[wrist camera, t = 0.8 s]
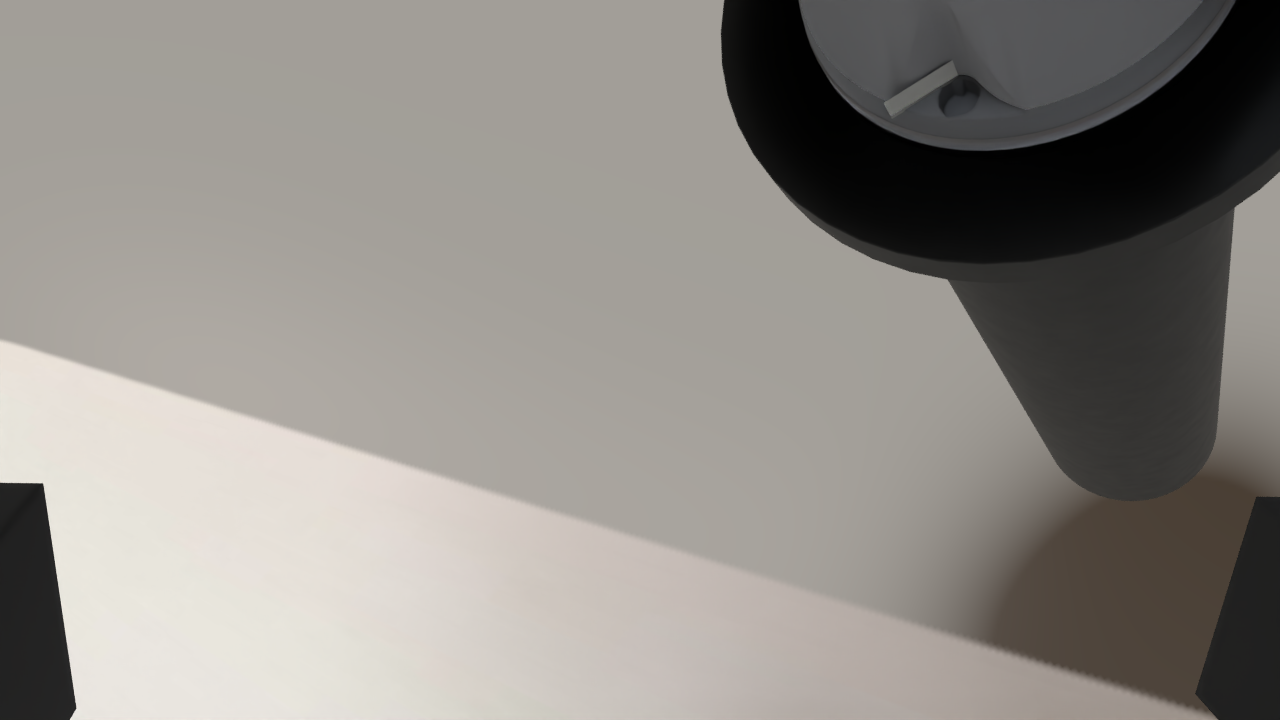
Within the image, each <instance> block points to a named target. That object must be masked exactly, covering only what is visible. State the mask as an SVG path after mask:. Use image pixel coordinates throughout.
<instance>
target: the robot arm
mask: <svg viewBox="0 0 1280 720" xmlns="http://www.w3.org/2000/svg"><path fill="white" fill-rule="evenodd" d="M1239 1H1240V0H799V5H800V10H801V15H802V19H803V22H804V26H805V30H806V34H807V37H808V40H809V43H810V46H811V48H812V50H813V52H814V54H815V56H816V59H817V61H818V62H819V64H820V66H821V67H822V69H823V71H824V72H825V74H826V76H827V78H828V79H829V81H830V82H831V84H832V86H833V87H834V89H835V90H836V92H837V93H838V94H839V96H840V97H841V98H842V99H843V100H844V102H845V103H846V104H847V105H848V106H849V107H850V108H851V109H852V110H853V111H854V112H855V113H856V114H857V115H858V116H859V117H860V118H862V119H863V120H864V121H866V122H867V123H868V124H870V125H871V126H872V127H874V128H875V129H877V130H879V131H880V132H882V133H884V134H886V135H887V136H889V137H891V138H893V139H896V140H898V141H900V142H902V143H904V144H907V145H910V146H913V147H916V148H919V149H922V150H925V151H929V152H934V153H938V154H943V155H950V156H957V157H966V158H1001V157H1013V156H1020V155H1028V154H1034V153H1038V152H1043V151H1047V150H1052V149H1056V148H1059V147H1062V146H1065V145H1069V144H1072V143H1075V142H1078V141H1081V140H1083V139H1086V138H1088V137H1091V136H1093V135H1096V134H1098V133H1101V132H1103V131H1105V130H1107V129H1109V128H1111V127H1113V126H1115V125H1117V124H1119V123H1121V122H1123V121H1124V120H1126V119H1128V118H1129V117H1131V116H1133V115H1134V114H1136V113H1138V112H1139V111H1141V110H1143V109H1144V108H1146V107H1147V106H1149V105H1150V104H1151V103H1153V102H1154V101H1156V100H1157V99H1158V98H1160V97H1161V96H1162V95H1164V94H1165V93H1166V92H1167V91H1169V90H1170V89H1171V88H1172V87H1173V86H1174V85H1176V84H1177V83H1178V82H1179V81H1180V80H1181V79H1183V78H1184V77H1185V76H1186V75H1187V74H1188V73H1189V72H1190V71H1191V70H1192V69H1193V67H1194V66H1195V65H1196V64H1197V63H1198V62H1199V61H1200V60H1201V59H1202V58H1203V57H1204V55H1205V54H1206V53H1207V52H1208V51H1209V49H1210V48H1211V47H1212V46H1213V44H1214V43H1215V42H1216V40H1217V39H1218V37H1219V36H1220V34H1221V33H1222V31H1223V30H1224V28H1225V27H1226V26H1227V24H1228V22H1229V21H1230V19H1231V17H1232V15H1233V13H1234V11H1235V9H1236V7H1237V6H1238V4H1239ZM1195 694H1196V695H1197V696H1198V697H1199V698H1200V700H1201V701H1202V702H1203V703H1204V704H1205V705H1206V706H1207V707H1208V709H1209V710H1210V711H1211V712H1212V713H1213V714H1214V715H1215V716H1216V718H1217V719H1218V720H1280V497H1256V500H1255V503H1254V506H1253V509H1252V513H1251V516H1250V519H1249V523H1248V525H1247V529H1246V532H1245V535H1244V538H1243V542H1242V545H1241V548H1240V551H1239V555H1238V558H1237V561H1236V564H1235V567H1234V571H1233V574H1232V577H1231V580H1230V584H1229V587H1228V590H1227V593H1226V596H1225V600H1224V603H1223V606H1222V609H1221V613H1220V616H1219V619H1218V622H1217V626H1216V629H1215V632H1214V636H1213V638H1212V642H1211V645H1210V648H1209V651H1208V655H1207V658H1206V661H1205V664H1204V668H1203V671H1202V674H1201V677H1200V680H1199V684H1198V687H1197V690H1196V693H1195ZM75 710H76V703H75V696H74V689H73V682H72V676H71V669H70V662H69V655H68V648H67V642H66V635H65V628H64V621H63V615H62V608H61V601H60V594H59V588H58V581H57V574H56V567H55V560H54V554H53V547H52V540H51V533H50V527H49V520H48V513H47V506H46V500H45V493H44V486H43V483H0V720H70V718H71V717H72V715H73V713H74V711H75Z"/></svg>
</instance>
